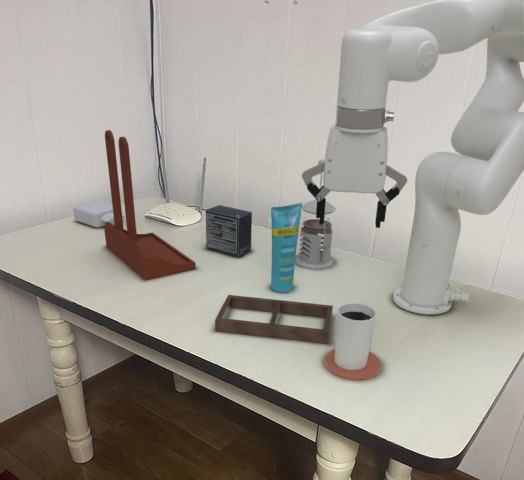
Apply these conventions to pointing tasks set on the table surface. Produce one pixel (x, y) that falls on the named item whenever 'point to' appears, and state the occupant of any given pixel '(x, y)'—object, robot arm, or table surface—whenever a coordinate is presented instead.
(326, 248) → the french press
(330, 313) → the rack
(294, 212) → the tube
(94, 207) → the charger
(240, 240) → the small box
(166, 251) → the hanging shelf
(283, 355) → the table surface
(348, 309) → the white cup
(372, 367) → the coaster
